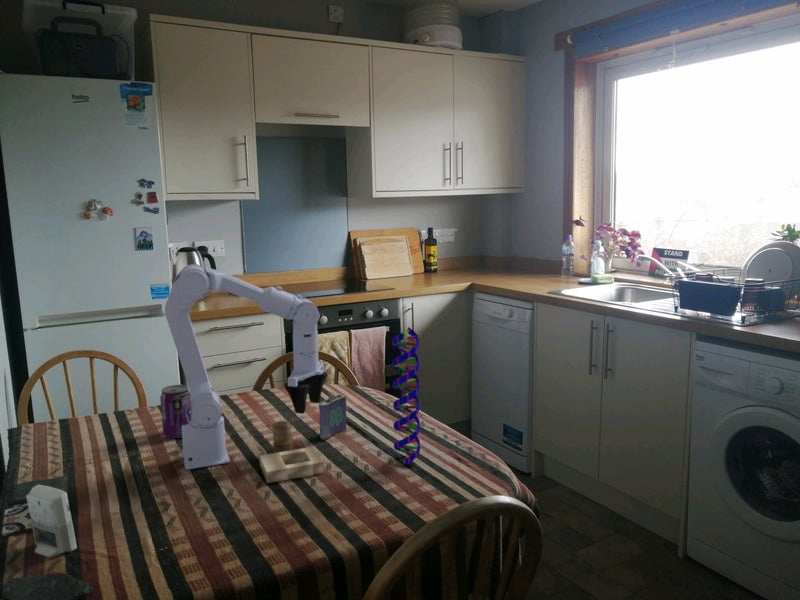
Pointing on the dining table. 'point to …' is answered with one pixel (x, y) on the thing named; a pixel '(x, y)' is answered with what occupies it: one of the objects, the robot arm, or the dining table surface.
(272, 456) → the board
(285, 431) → the peg
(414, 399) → the dna model
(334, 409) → the flask
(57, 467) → the dining table surface
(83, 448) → the dining table surface
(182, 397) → the beverage can
